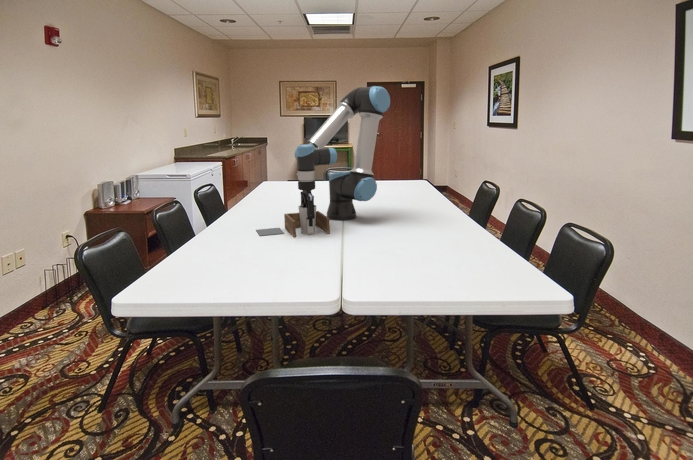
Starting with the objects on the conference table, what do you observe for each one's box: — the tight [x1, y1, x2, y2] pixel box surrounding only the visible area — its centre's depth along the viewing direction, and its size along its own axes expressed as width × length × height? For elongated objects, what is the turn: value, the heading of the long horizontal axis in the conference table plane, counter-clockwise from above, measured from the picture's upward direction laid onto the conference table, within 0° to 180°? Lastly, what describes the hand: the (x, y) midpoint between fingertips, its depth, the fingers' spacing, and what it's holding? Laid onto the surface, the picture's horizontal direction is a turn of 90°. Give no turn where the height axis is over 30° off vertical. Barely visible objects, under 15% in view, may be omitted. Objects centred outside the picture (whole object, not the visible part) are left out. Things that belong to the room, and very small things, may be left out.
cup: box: [297, 204, 317, 235], centre depth 212 cm, size 8×8×12 cm
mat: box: [255, 227, 285, 237], centre depth 215 cm, size 11×11×1 cm
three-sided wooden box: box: [283, 210, 331, 238], centre depth 215 cm, size 16×17×7 cm
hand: (308, 231), depth 213 cm, fingers closed on cup, 7 cm apart
